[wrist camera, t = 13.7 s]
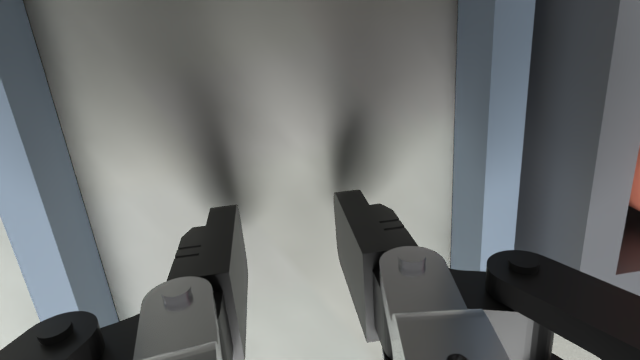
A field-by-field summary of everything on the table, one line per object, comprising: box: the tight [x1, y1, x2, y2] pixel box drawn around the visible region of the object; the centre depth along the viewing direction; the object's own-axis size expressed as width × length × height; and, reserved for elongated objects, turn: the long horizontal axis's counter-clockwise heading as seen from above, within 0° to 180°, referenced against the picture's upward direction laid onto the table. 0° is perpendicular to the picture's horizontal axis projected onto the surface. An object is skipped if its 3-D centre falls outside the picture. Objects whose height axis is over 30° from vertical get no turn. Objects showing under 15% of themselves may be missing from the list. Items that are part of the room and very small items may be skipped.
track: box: [0, 0, 536, 328], centre depth 11 cm, size 13×22×2 cm, turn 5°
